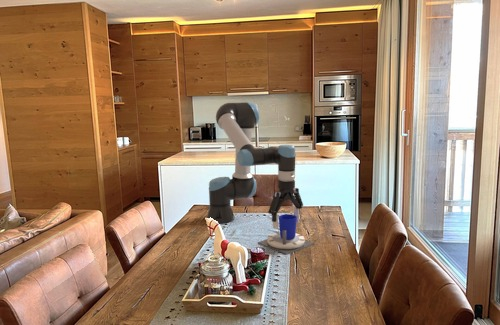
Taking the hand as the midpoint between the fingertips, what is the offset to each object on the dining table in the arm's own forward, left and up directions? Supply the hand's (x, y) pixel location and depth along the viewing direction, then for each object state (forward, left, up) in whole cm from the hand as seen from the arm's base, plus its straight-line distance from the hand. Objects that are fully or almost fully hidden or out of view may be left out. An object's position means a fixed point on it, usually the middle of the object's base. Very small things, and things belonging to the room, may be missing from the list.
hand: (286, 225), depth 173 cm
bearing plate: (+1, -1, -8) cm, 9 cm away
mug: (0, +1, -6) cm, 6 cm away
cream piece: (+1, -1, -8) cm, 9 cm away
